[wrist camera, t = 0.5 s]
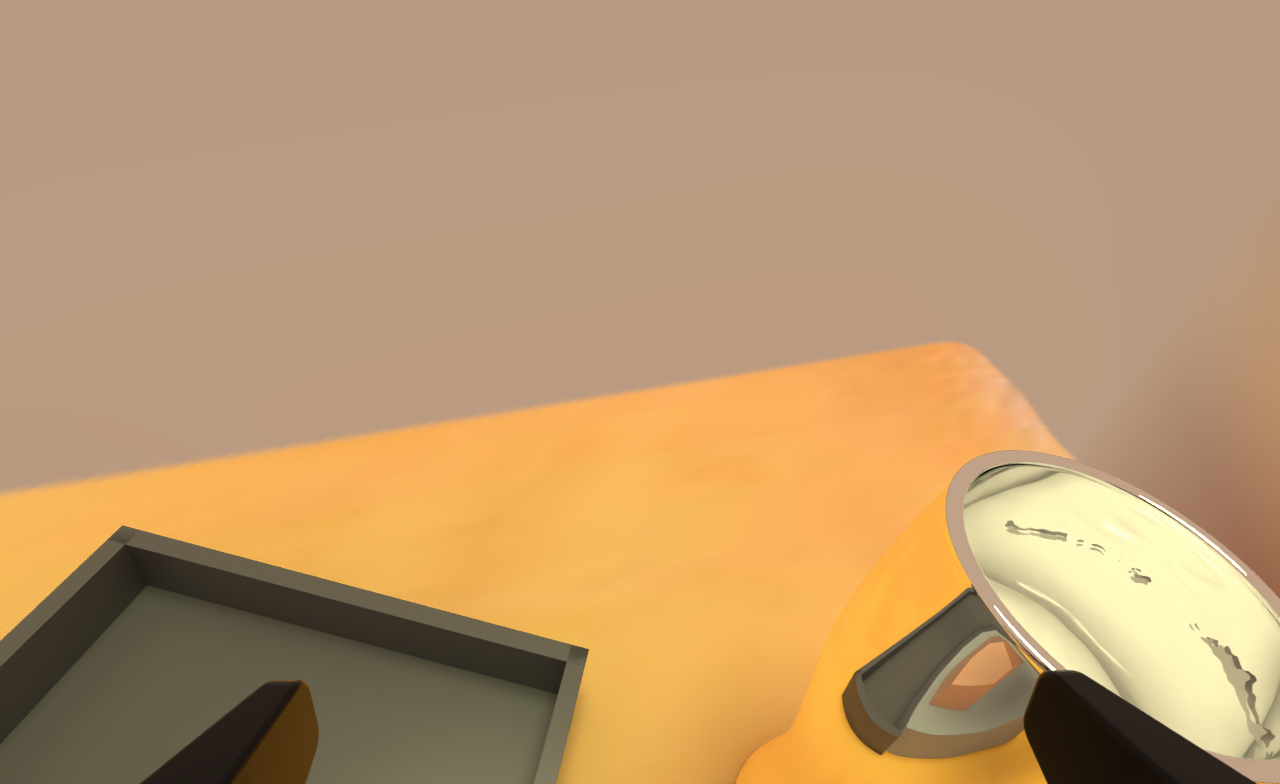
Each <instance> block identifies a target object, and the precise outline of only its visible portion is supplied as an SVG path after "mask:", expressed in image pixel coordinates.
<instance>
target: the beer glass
mask: <svg viewBox="0 0 1280 784" xmlns="http://www.w3.org/2000/svg"><path fill="white" fill-rule="evenodd" d="M1047 670H1075V671H1079V672H1081V673H1083V674H1085V675H1086V676H1088V677H1090V678H1091V679H1093V680H1094V681H1096V682H1098V683H1099V684H1101V685H1102V686H1104V687H1105V688H1107V689H1109V690H1110V691H1112V692H1113V693H1115V694H1117V695H1118V696H1120V697H1121V698H1123V699H1124V700H1126V701H1128V702H1129V703H1131V704H1132V705H1134V706H1135V707H1137V708H1139V709H1140V710H1142V711H1143V712H1145V713H1146V714H1148V715H1150V716H1151V717H1153V718H1154V719H1156V720H1158V721H1159V722H1161V723H1162V724H1164V725H1165V726H1167V727H1169V728H1170V729H1172V730H1173V731H1175V732H1176V733H1178V734H1180V735H1181V736H1183V737H1184V738H1186V739H1187V740H1189V741H1191V742H1192V743H1194V744H1195V745H1197V746H1199V747H1200V748H1202V749H1203V750H1205V751H1206V752H1208V753H1210V754H1211V755H1213V756H1214V757H1216V758H1217V759H1219V760H1221V761H1222V762H1224V763H1225V764H1227V765H1229V766H1230V767H1232V768H1233V769H1235V770H1236V771H1238V772H1240V773H1241V774H1243V775H1244V776H1246V777H1247V778H1249V779H1251V780H1252V781H1254V782H1255V783H1257V784H1280V598H1279V597H1278V596H1277V595H1276V594H1275V593H1274V592H1273V591H1272V589H1271V588H1270V587H1269V586H1268V585H1267V584H1266V583H1265V582H1264V581H1263V580H1262V579H1261V578H1260V577H1259V576H1258V575H1257V574H1256V573H1255V572H1253V570H1252V569H1251V568H1249V567H1248V566H1247V565H1246V564H1245V563H1244V562H1243V561H1242V560H1241V559H1240V558H1238V557H1237V556H1236V555H1235V554H1234V553H1233V552H1231V551H1230V550H1229V549H1228V548H1227V547H1226V546H1224V545H1223V544H1222V543H1221V542H1219V541H1218V540H1217V539H1215V538H1214V537H1213V536H1211V535H1210V534H1209V533H1208V532H1207V531H1205V530H1204V529H1202V528H1201V527H1200V526H1198V525H1197V524H1196V523H1194V522H1193V521H1191V520H1190V519H1188V518H1187V517H1186V516H1184V515H1183V514H1181V513H1180V512H1178V511H1177V510H1175V509H1173V508H1172V507H1170V506H1169V505H1167V504H1165V503H1164V502H1162V501H1161V500H1159V499H1157V498H1155V497H1154V496H1152V495H1150V494H1148V493H1147V492H1145V491H1143V490H1141V489H1139V488H1137V487H1136V486H1134V485H1132V484H1130V483H1128V482H1126V481H1124V480H1121V479H1119V478H1117V477H1115V476H1112V475H1111V474H1108V473H1106V472H1104V471H1101V470H1099V469H1096V468H1093V467H1091V466H1088V465H1086V464H1083V463H1080V462H1077V461H1074V460H1070V459H1067V458H1063V457H1059V456H1055V455H1051V454H1046V453H1040V452H1033V451H1021V450H1007V451H998V452H992V453H988V454H984V455H981V456H979V457H976V458H974V459H972V460H971V461H969V462H968V463H966V464H965V465H964V466H962V467H961V468H960V469H959V470H958V471H957V473H956V474H955V475H954V477H953V478H952V480H951V482H950V483H949V484H948V485H947V486H946V488H945V489H944V490H943V491H942V492H941V493H940V494H939V495H938V496H937V497H936V498H935V499H934V500H933V502H932V503H931V504H930V505H929V506H928V507H927V508H926V509H925V510H924V511H923V512H922V513H921V514H920V515H919V516H918V517H917V518H916V519H915V520H914V521H913V522H912V523H911V524H910V525H909V526H908V527H907V529H906V530H905V531H904V532H903V533H902V534H901V535H900V536H899V537H898V538H897V539H896V541H895V542H894V543H893V544H892V545H891V546H890V547H889V548H888V549H887V551H886V552H885V553H884V554H883V556H882V557H881V558H880V559H879V561H878V562H877V563H876V564H875V565H874V567H873V568H872V569H871V570H870V572H869V573H868V574H867V575H866V576H865V578H864V579H863V580H862V582H861V583H860V585H859V586H858V588H857V589H856V591H855V592H854V594H853V595H852V597H851V598H850V600H849V601H848V603H847V604H846V606H845V607H844V609H843V610H842V612H841V613H840V615H839V617H838V618H837V620H836V622H835V624H834V626H833V628H832V631H831V633H830V635H829V637H828V639H827V641H826V643H825V645H824V647H823V649H822V652H821V654H820V656H819V659H818V661H817V664H816V666H815V669H814V672H813V674H812V677H811V680H810V682H809V685H808V688H807V690H806V693H805V696H804V699H803V702H802V704H801V707H800V710H799V712H798V715H797V717H796V720H795V722H794V724H793V725H792V727H791V728H790V730H789V731H788V732H786V733H785V734H783V735H781V736H778V737H776V738H774V739H773V740H771V741H769V742H767V743H766V744H764V745H763V746H761V747H760V748H759V749H758V750H756V751H755V752H754V753H753V754H752V755H751V756H750V757H749V759H748V760H747V761H746V763H745V764H744V766H743V767H742V769H741V771H740V773H739V775H738V777H737V780H736V783H735V784H1047V782H1046V780H1045V777H1044V775H1043V773H1042V771H1041V769H1040V766H1039V764H1038V762H1037V760H1036V757H1035V755H1034V753H1033V751H1032V749H1031V746H1030V744H1029V742H1028V740H1027V737H1026V734H1025V730H1024V724H1023V718H1024V713H1025V710H1026V707H1027V705H1028V702H1029V699H1030V697H1031V694H1032V691H1033V689H1034V686H1035V684H1036V681H1037V678H1038V677H1039V675H1040V674H1041V673H1042V672H1044V671H1047Z"/></svg>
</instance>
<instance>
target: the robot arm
mask: <svg viewBox="0 0 1280 784" xmlns="http://www.w3.org/2000/svg"><path fill="white" fill-rule="evenodd" d="M1023 724H1024V730H1025V734H1026V737H1027V740H1028V742H1029V744H1030V746H1031V749H1032V751H1033V753H1034V755H1035V757H1036V760H1037V762H1038V764H1039V766H1040V769H1041V771H1042V773H1043V775H1044V777H1045V780H1046V782H1047V784H1257V783H1255V782H1254V781H1252V780H1251V779H1249V778H1247V777H1246V776H1244V775H1243V774H1241V773H1240V772H1238V771H1236V770H1235V769H1233V768H1232V767H1230V766H1229V765H1227V764H1225V763H1224V762H1222V761H1221V760H1219V759H1217V758H1216V757H1214V756H1213V755H1211V754H1210V753H1208V752H1206V751H1205V750H1203V749H1202V748H1200V747H1199V746H1197V745H1195V744H1194V743H1192V742H1191V741H1189V740H1187V739H1186V738H1184V737H1183V736H1181V735H1180V734H1178V733H1176V732H1175V731H1173V730H1172V729H1170V728H1169V727H1167V726H1165V725H1164V724H1162V723H1161V722H1159V721H1158V720H1156V719H1154V718H1153V717H1151V716H1150V715H1148V714H1146V713H1145V712H1143V711H1142V710H1140V709H1139V708H1137V707H1135V706H1134V705H1132V704H1131V703H1129V702H1128V701H1126V700H1124V699H1123V698H1121V697H1120V696H1118V695H1117V694H1115V693H1113V692H1112V691H1110V690H1109V689H1107V688H1105V687H1104V686H1102V685H1101V684H1099V683H1098V682H1096V681H1094V680H1093V679H1091V678H1090V677H1088V676H1086V675H1085V674H1083V673H1081V672H1079V671H1075V670H1047V671H1044V672H1042V673H1041V674H1040V675H1039V677H1038V678H1037V681H1036V684H1035V686H1034V689H1033V691H1032V694H1031V697H1030V699H1029V702H1028V705H1027V707H1026V710H1025V713H1024V718H1023ZM318 739H319V728H318V722H317V718H316V714H315V710H314V705H313V701H312V697H311V693H310V689H309V686H308V684H307V683H306V682H305V681H304V680H271V681H268V682H266V683H265V684H263V685H261V686H260V687H259V688H258V689H256V690H255V691H254V692H253V693H251V694H250V695H249V696H248V697H246V698H245V699H244V700H243V701H241V702H240V703H239V704H238V705H236V706H235V707H234V708H233V709H231V710H230V711H229V712H228V713H226V714H225V715H224V716H223V717H221V718H220V719H219V720H218V721H216V722H215V723H214V724H213V725H211V726H210V727H209V728H208V729H206V730H205V731H204V732H203V733H201V734H200V735H199V736H198V737H196V738H195V739H194V740H193V741H191V742H190V743H189V744H188V745H186V746H185V747H184V748H183V749H181V750H180V751H179V752H178V753H177V754H175V755H174V756H173V757H172V758H170V759H169V760H168V761H167V762H165V763H164V764H163V765H162V766H160V767H159V768H158V769H157V770H155V771H154V772H153V773H152V774H150V775H149V776H148V777H147V778H145V779H144V780H143V781H142V782H140V783H139V784H306V781H307V778H308V775H309V772H310V769H311V766H312V762H313V759H314V756H315V753H316V749H317V745H318Z"/></svg>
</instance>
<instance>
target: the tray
mask: <svg viewBox="0 0 1280 784" xmlns="http://www.w3.org/2000/svg"><path fill="white" fill-rule="evenodd" d="M588 651H589V649H586V648H582V647H578V646H574V645H570V644H567V643H563V642H559V641H555V640H552V639H548V638H544V637H540V636H537V635H533V634H529V633H525V632H522V631H518V630H514V629H510V628H507V627H503V626H499V625H495V624H491V623H488V622H484V621H480V620H476V619H473V618H469V617H465V616H461V615H458V614H454V613H450V612H446V611H443V610H439V609H435V608H431V607H427V606H424V605H420V604H416V603H412V602H409V601H405V600H401V599H397V598H394V597H390V596H386V595H382V594H379V593H375V592H371V591H367V590H363V589H360V588H356V587H352V586H348V585H345V584H341V583H337V582H333V581H330V580H326V579H322V578H318V577H315V576H311V575H307V574H303V573H299V572H296V571H292V570H288V569H284V568H281V567H277V566H273V565H269V564H266V563H262V562H258V561H254V560H251V559H247V558H243V557H239V556H235V555H232V554H228V553H224V552H220V551H217V550H213V549H209V548H205V547H202V546H198V545H194V544H190V543H187V542H183V541H179V540H175V539H171V538H168V537H164V536H160V535H156V534H153V533H149V532H145V531H141V530H138V529H134V528H130V527H126V526H121V527H120V528H119V529H118V530H117V531H116V532H115V533H114V534H113V535H112V536H111V537H110V538H109V539H108V540H107V541H106V542H105V543H104V544H102V545H101V546H100V547H99V548H98V549H97V550H96V551H95V552H94V553H93V554H92V555H91V556H90V557H89V558H88V559H87V560H86V561H85V562H83V563H82V564H81V565H80V566H79V567H78V568H77V569H76V570H75V571H74V572H73V573H72V574H71V575H70V576H69V577H68V578H67V579H65V580H64V581H63V582H62V583H61V584H60V585H59V586H58V587H57V588H56V589H55V590H54V591H53V592H52V593H51V594H50V595H49V596H48V597H46V598H45V599H44V600H43V601H42V602H41V603H40V604H39V605H38V606H37V607H36V608H35V609H34V610H33V611H32V612H31V613H30V614H29V615H27V616H26V617H25V618H24V619H23V620H22V621H21V622H20V623H19V624H18V625H17V626H16V627H15V628H14V629H13V630H12V631H11V632H9V633H8V634H7V635H6V636H5V637H4V638H3V639H2V640H1V641H0V784H139V783H140V782H142V781H143V780H144V779H145V778H147V777H148V776H149V775H150V774H152V773H153V772H154V771H155V770H157V769H158V768H159V767H160V766H162V765H163V764H164V763H165V762H167V761H168V760H169V759H170V758H172V757H173V756H174V755H175V754H177V753H178V752H179V751H180V750H181V749H183V748H184V747H185V746H186V745H188V744H189V743H190V742H191V741H193V740H194V739H195V738H196V737H198V736H199V735H200V734H201V733H203V732H204V731H205V730H206V729H208V728H209V727H210V726H211V725H213V724H214V723H215V722H216V721H218V720H219V719H220V718H221V717H223V716H224V715H225V714H226V713H228V712H229V711H230V710H231V709H233V708H234V707H235V706H236V705H238V704H239V703H240V702H241V701H243V700H244V699H245V698H246V697H248V696H249V695H250V694H251V693H253V692H254V691H255V690H256V689H258V688H259V687H260V686H261V685H263V684H265V683H266V682H268V681H271V680H304V681H305V682H306V683H307V684H308V686H309V689H310V693H311V697H312V701H313V705H314V710H315V714H316V718H317V722H318V728H319V739H318V745H317V749H316V753H315V756H314V759H313V762H312V766H311V769H310V772H309V775H308V778H307V781H306V784H556V781H557V777H558V773H559V768H560V764H561V760H562V756H563V752H564V748H565V744H566V740H567V736H568V732H569V728H570V724H571V720H572V716H573V712H574V707H575V703H576V699H577V695H578V691H579V687H580V683H581V679H582V675H583V671H584V667H585V663H586V659H587V655H588Z"/></svg>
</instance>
